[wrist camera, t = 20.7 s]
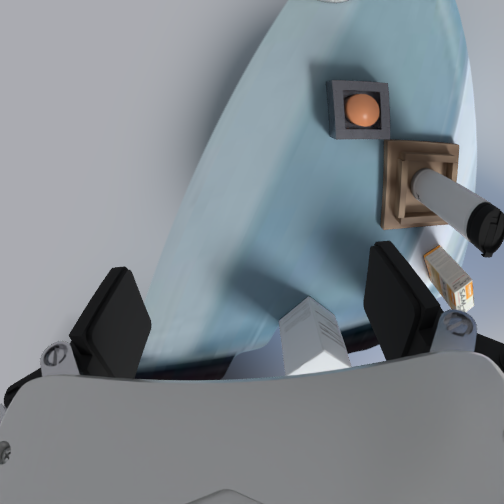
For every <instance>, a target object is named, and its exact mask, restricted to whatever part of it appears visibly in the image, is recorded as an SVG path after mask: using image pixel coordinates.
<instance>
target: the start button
mask: <svg viewBox="0 0 504 504" xmlns="http://www.w3.org/2000/svg"><path fill="white" fill-rule="evenodd" d="M344 115H345V117H346V119H347V120H348V121H349V122H351V123H353V124H356V125H360V126H370V125H373V124H374V123H375V122H376V121H377V119H378V117H379V106H378V104H377V102H376V100H375V99H374V98H372V97H371V96H369V95H367V94H353V95H350V96H349V97H347V98H346V100H345V101H344Z"/></svg>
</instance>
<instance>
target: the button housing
mask: <svg viewBox="0 0 504 504" xmlns="http://www.w3.org/2000/svg"><path fill="white" fill-rule="evenodd" d="M326 88H327V100H328V113H329V128H330V137H332V138H334V139H390V109H389V91H388V83H379V82H366V81H345V80H331V81H327V82H326ZM353 94H367V95H369V96H371V97H372V98H374V99H375V100H376V102H377V104H378V106H379V117H378V119H377V121H376V122H375V123H374V124H373V125H370V126H360V125H356V124H353V123H351V122H349V121H348V120H347V119H346V117H345V115H344V101H345V100H346V98H347V97H349V96H350V95H353Z"/></svg>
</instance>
